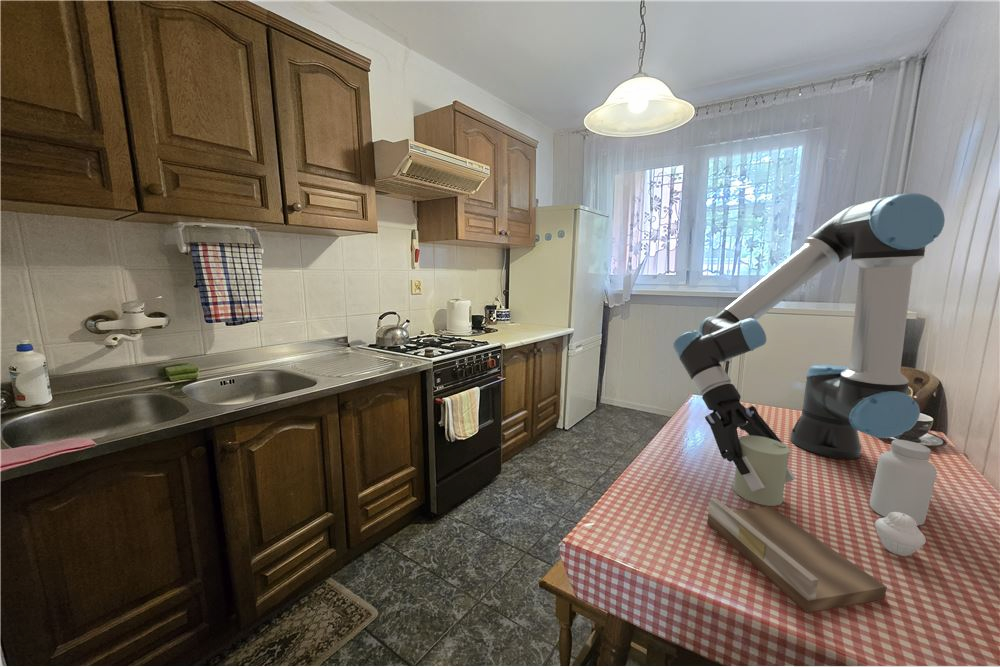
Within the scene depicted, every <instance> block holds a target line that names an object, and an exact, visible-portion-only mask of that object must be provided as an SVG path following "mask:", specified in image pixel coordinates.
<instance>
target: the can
mask: <svg viewBox="0 0 1000 667" xmlns="http://www.w3.org/2000/svg"><path fill="white" fill-rule="evenodd" d="M739 442H740V447H741V452H742V457H744V456H746V457H747V458H748V460H749V462H750V463H751V465H752V466H753V468H754V470H755V471H756V473H757V475H758V477H759V478H760V480H761V482H762V483H763V485H764V487H765V488H762V489H759V490H756V491H753V492H752V491H751V489H750V487H749V485H748V484H747V482H746V480H745V478H744V476H743V475H741V474H740V472H739V470H738V469H737V467H736V466H735V474H734V481H733V484H732V489H733V491H734V492H735V494H737V495H738V496H739V497H741V498H743V499H744V500H746V501H749V502H751V503H754V504H758V505H761V506H765V507H768V506H771V507H777V506H780V505H781V504H783V503H784V490H785V484H786V483H785V477H786V471H787V466H789V465H788V463H789V458H790V453H791V449H790V447H789V446H787V445H786V444H785V443H783V442H782V441H781V442H782V443H781V442H779V441H776V440H773V439H770V438H766V437H761V436H754V435H749V434H748V435H742V436H740V437H739Z"/></svg>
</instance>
